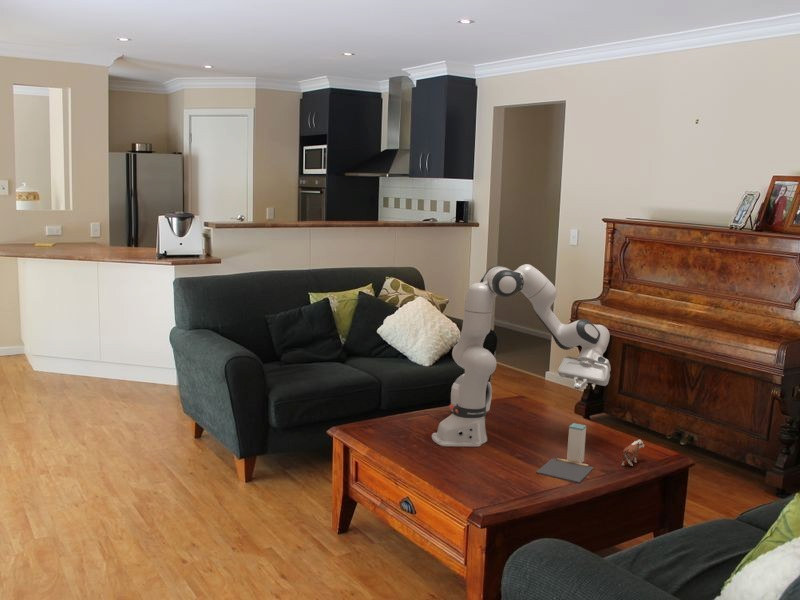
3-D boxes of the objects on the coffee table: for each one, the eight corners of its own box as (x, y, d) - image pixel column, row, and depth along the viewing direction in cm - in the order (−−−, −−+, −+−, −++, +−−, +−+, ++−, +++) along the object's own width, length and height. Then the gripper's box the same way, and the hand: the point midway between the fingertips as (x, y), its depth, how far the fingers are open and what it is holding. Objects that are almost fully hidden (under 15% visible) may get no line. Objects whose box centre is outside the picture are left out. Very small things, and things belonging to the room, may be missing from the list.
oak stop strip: (556, 461, 291) (556, 459, 291) (557, 460, 293) (557, 457, 293) (587, 468, 285) (587, 465, 285) (588, 467, 287) (588, 464, 287)
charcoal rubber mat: (536, 473, 279) (536, 471, 279) (552, 459, 293) (552, 458, 293) (579, 483, 271) (579, 481, 271) (593, 468, 285) (593, 467, 285)
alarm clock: (458, 421, 336) (460, 376, 333) (448, 416, 343) (450, 371, 340) (492, 416, 345) (494, 372, 342) (481, 411, 352) (483, 368, 349)
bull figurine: (645, 460, 296) (646, 439, 295) (628, 468, 287) (630, 447, 285) (634, 457, 299) (636, 436, 298) (617, 465, 290) (619, 444, 288)
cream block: (566, 462, 291) (569, 426, 289) (570, 458, 296) (573, 423, 293) (579, 465, 289) (582, 429, 287) (583, 461, 293) (586, 425, 291)
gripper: (563, 351, 313) (551, 378, 307) (612, 360, 302) (600, 389, 296) (566, 360, 318) (554, 387, 311) (614, 370, 307) (603, 398, 300)
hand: (577, 388), depth 303 cm, fingers closed
